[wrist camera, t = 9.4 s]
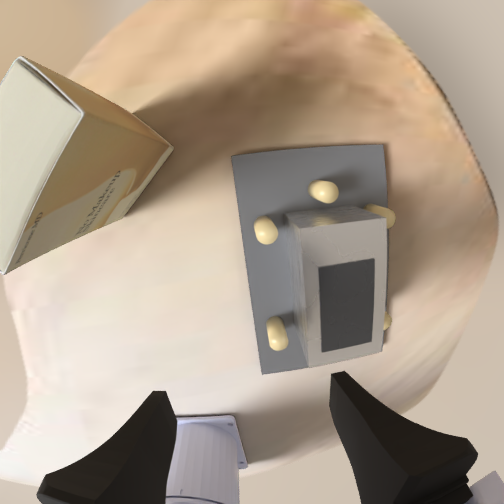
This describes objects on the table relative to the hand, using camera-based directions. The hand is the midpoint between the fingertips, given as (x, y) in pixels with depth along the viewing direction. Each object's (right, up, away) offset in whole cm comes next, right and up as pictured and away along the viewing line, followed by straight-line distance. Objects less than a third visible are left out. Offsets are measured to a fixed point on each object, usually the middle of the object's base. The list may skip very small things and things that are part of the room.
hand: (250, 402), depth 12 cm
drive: (+5, +5, +8) cm, 11 cm away
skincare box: (-8, +12, +6) cm, 16 cm away
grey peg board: (+5, +5, +9) cm, 11 cm away
